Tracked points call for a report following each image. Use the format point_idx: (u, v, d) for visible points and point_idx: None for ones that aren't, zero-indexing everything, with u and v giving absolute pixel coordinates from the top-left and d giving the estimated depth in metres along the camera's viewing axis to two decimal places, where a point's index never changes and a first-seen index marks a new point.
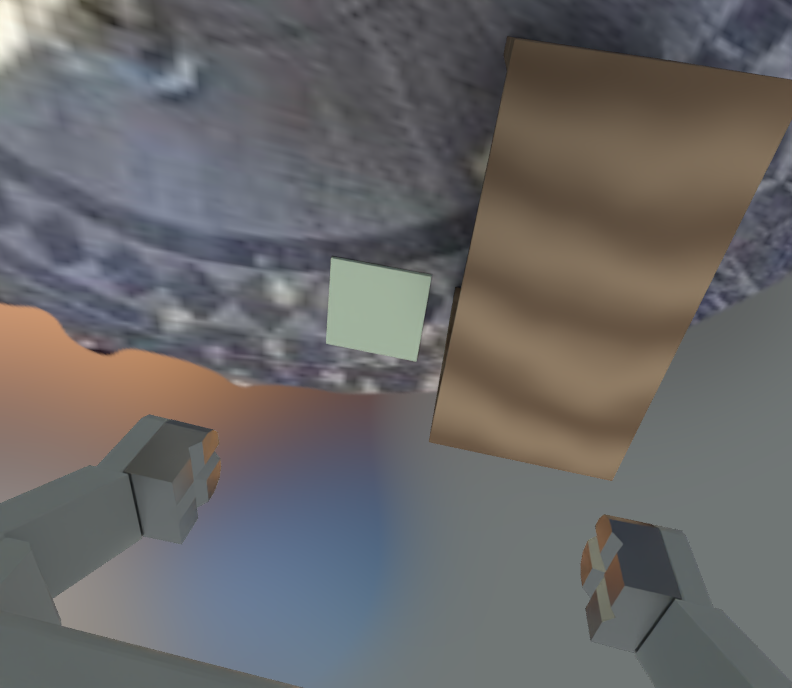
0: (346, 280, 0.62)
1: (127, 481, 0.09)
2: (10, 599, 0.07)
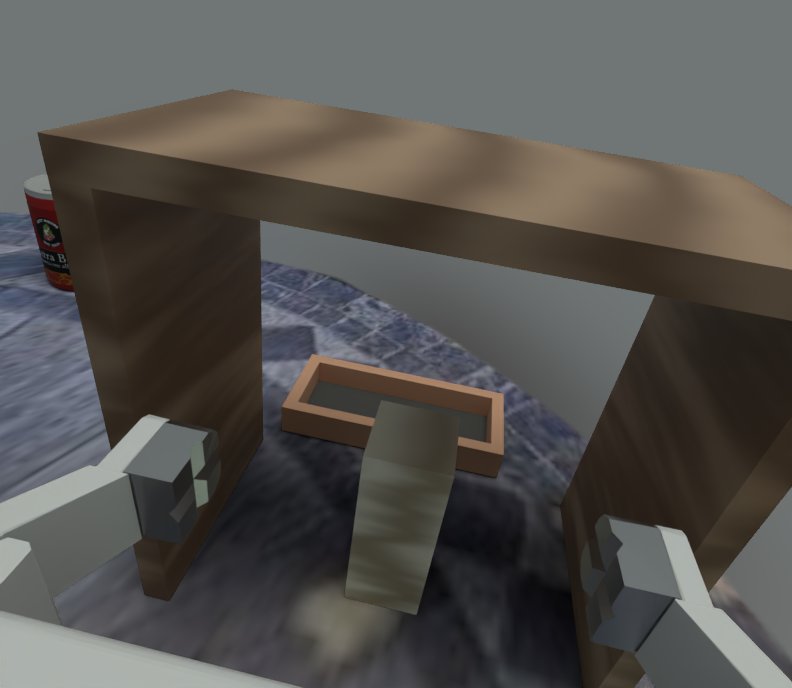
0: None
1: (127, 481, 0.09)
2: (10, 599, 0.07)
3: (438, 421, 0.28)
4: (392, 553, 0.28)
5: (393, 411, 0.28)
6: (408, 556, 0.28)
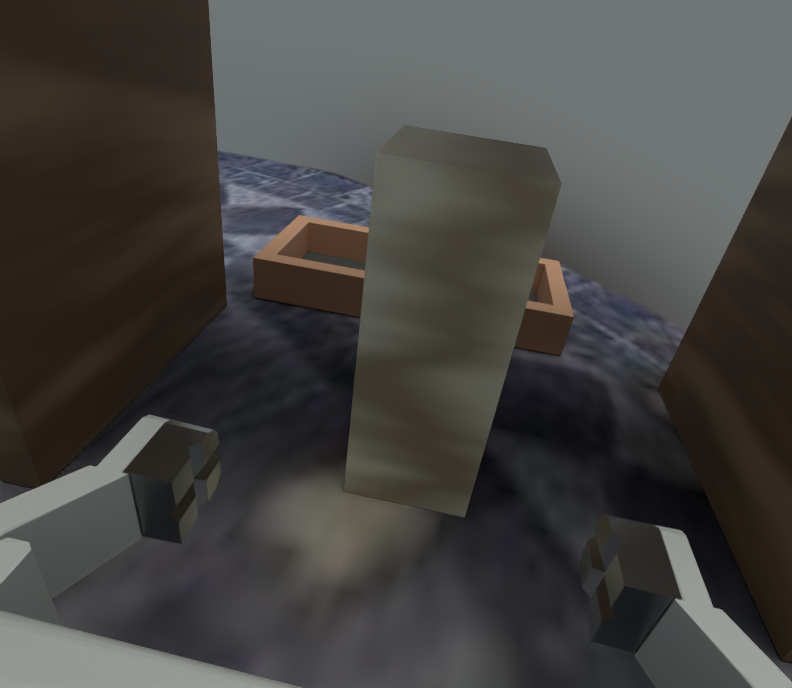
0: None
1: (127, 481, 0.09)
2: (10, 599, 0.07)
3: (510, 146, 0.15)
4: (428, 392, 0.16)
5: (428, 133, 0.16)
6: (456, 395, 0.16)
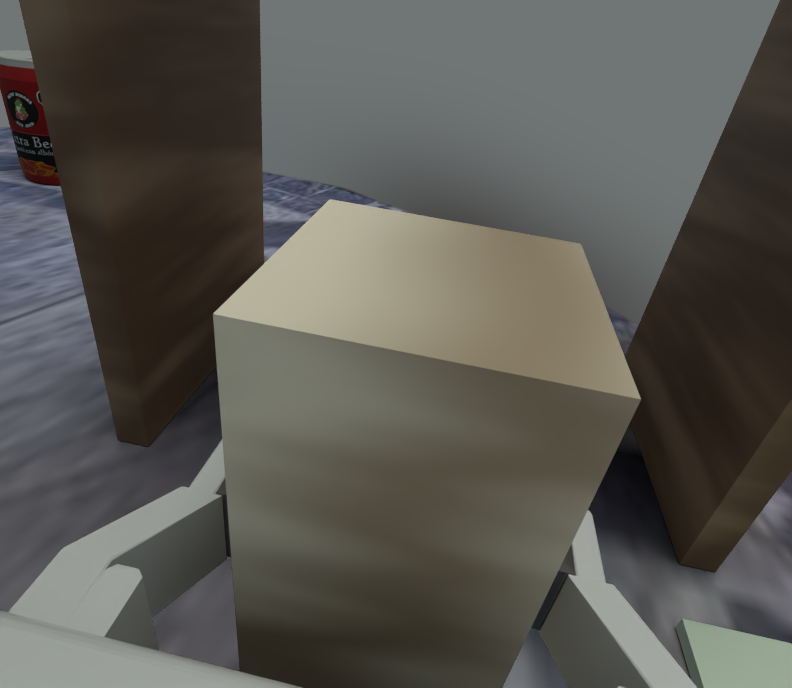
0: None
1: (220, 502, 0.09)
2: (124, 628, 0.07)
3: (516, 247, 0.08)
4: (367, 680, 0.09)
5: (367, 219, 0.09)
6: None
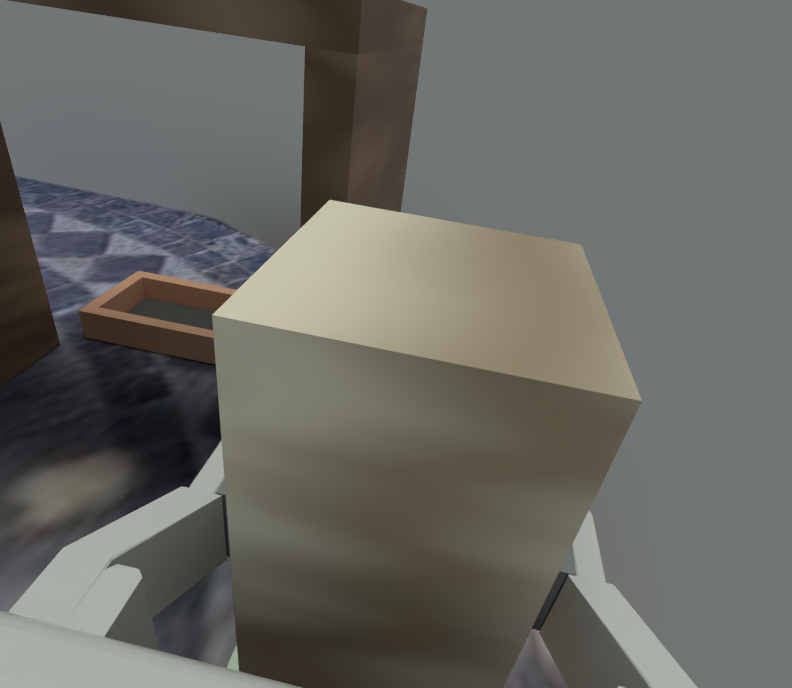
0: None
1: (220, 503, 0.09)
2: (124, 628, 0.07)
3: (516, 248, 0.08)
4: (366, 682, 0.09)
5: (367, 219, 0.09)
6: None
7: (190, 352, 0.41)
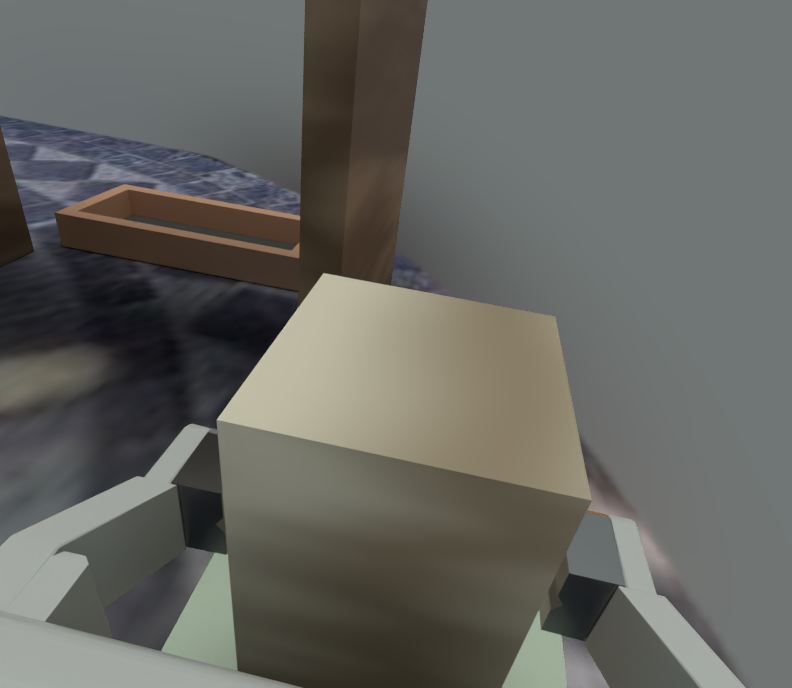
0: None
1: (175, 492, 0.09)
2: (69, 614, 0.07)
3: (494, 325, 0.09)
4: None
5: (357, 296, 0.09)
6: None
7: (180, 260, 0.36)
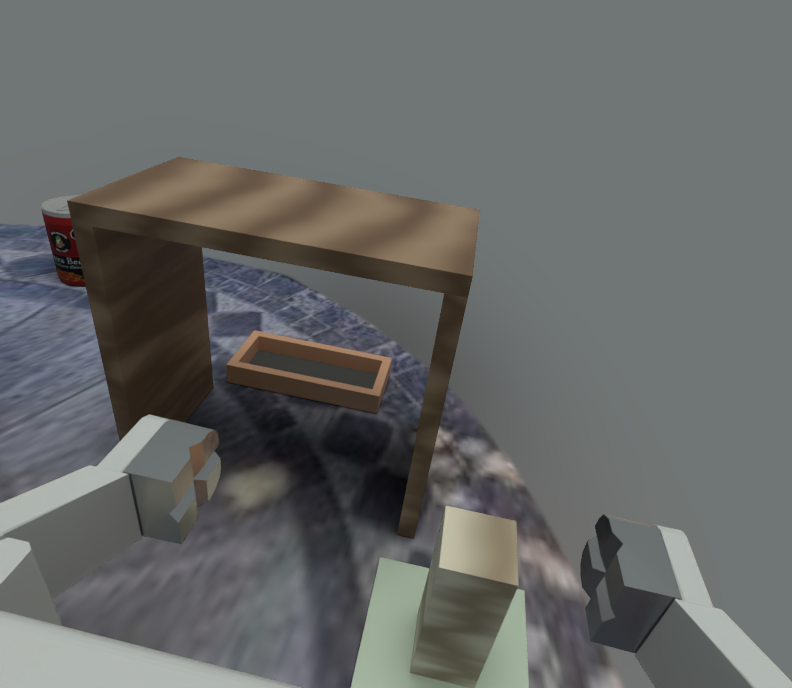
0: None
1: (127, 481, 0.09)
2: (10, 599, 0.07)
3: (498, 527, 0.32)
4: (457, 640, 0.32)
5: (458, 517, 0.32)
6: (471, 643, 0.32)
7: (302, 393, 0.59)
